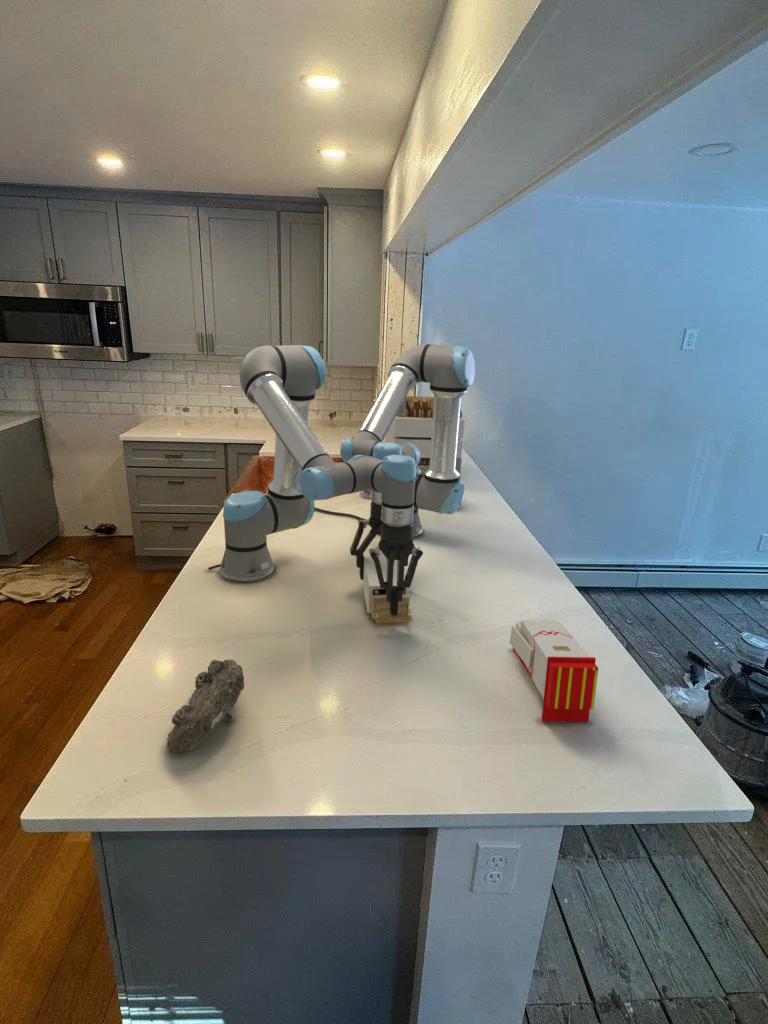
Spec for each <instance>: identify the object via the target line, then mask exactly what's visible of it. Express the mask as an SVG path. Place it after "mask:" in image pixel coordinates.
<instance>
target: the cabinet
mask: <svg viewBox="0 0 768 1024" xmlns="http://www.w3.org/2000/svg"><path fill="white" fill-rule="evenodd" d="M363 556H364V577H363V580H361V579H360V581H361V587H362V591H363V596H364V601H365V606H366V612H367V614H368V615H369V614H372V599H373V589H382V588H381V587H380V584H379V581H378V576H377V572H376V568H375V563H374V560H373V559H372V557H371V556H370V553H369V551H365V552H364V553H363ZM378 558H379V561H380V565H381V569H382V574H383V578H384V581H385V582H386V575H387V558H386V557H385V556H384V554H383V553H382V552H381V551H380V556H379V557H378ZM397 564H398V560H394V567H393V586H397ZM406 573H407V570H406V568H405V567H404V580H405V576H406ZM410 587H411V586H410ZM410 587H409V588H407V587H406V588H404V594H409V595H410Z"/></svg>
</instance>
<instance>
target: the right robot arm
mask: <svg viewBox="0 0 768 1024" xmlns="http://www.w3.org/2000/svg"><path fill="white" fill-rule="evenodd" d="M475 375H476V364H475V358H474V355H473V352H472V351H471V350H470V349H469V348H468V347H466V346H459V345H446V344H430V343H421V344H420V343H419V344H417V345H415V346H412V347H411V348H409V349H407V350H406V351H404V352H402V354H400V356H398V357H397V358H396V359H395V360H394V362H393V363H392V364H391V366H390V368H389V370H388V372H387V380H386V382H385V384H384V385H383V387H382V389H381V391H380V392H379V394H378V396H377V398H376V400H375V401H374V403H373V405H372V406H371V408H370V410H369V412H368V414H367V415H366V418H365V419H364V421H363V423H362V424H361V427H360V428H359V430H358V432H357V433H356V435H355V437H354V436H347V437H346V438H343V440H342V441H341V444H340V448H339V453H340V457H341V460H342V462H347V461H349V460H350V459H351V458H352V457H353V456H355V455H364V456H365V455H367V456H370V457H373V458H376V459H379V460H383V459H384V458H385V457H386V456H389V455H403V456H404V455H405V456H410V457H412V458H413V459H414V460H415V465H416V480H415V494H414V516H413V522H412V524H413V539H412V540H415V539H418V538H420V537H421V536H422V535H423V525H422V524H421V518H420V515H419V510H423V511H428V512H434V513H437V514H440V515H442V514H444V515H453V514H454V513H456V512H457V510H458V509H459V508H460V506H461V505H460V503H461V504H462V500H463V497H464V493H465V489H466V487H465V482H464V481H462V480H460V481H459V473H458V472H457V471H456V469H455V467H456V455H457V443H458V431H459V419H460V408H461V405H462V397H463V396H464V395H465V394H466V393H467V392H468V388H470V387H471V386H472V385H473V384H474V380H475ZM418 383H426V384H427V383H428V384H429V391H430V392H431V393H432V394H433V397H434V405H433V420H432V436H431V451H430V466H429V465H428V468H427V469H426V470H424V474H422V470H421V468H419V467H417V465H418V464H419V462H420V452H419V449H418V448H417V447H416V446H415V445H414V444H411V443H403V444H401V445H399V444H396V443H389V442H386V441H384V440H385V438H386V434H387V432H388V430H389V428H390V426H391V424H392V422H393V420H394V419H395V417H396V415H397V413H398V411H399V409H400V407H401V405H402V404H403V402H404V400H405V398H406V396H408V395H409V392H410V391H411V390H413V389H415V388H416V386H417V384H418ZM370 500H371V502H370V515H369V519H367V518H364V517H360V516H358V515H355V514H353V513H351V514H350V513H345V512H336V511H332V510H331V511H330V510H326V509H322V508H319V507H315V508H314V511H317V512H320V513H325V514H330V515H334V516H335V515H336V516H342V517H348V518H354V519H357V520H358V521H357V522H358V523H357V529H356V532H355V535H354V537H353V540H352V543H351V546H350V549H349V552H350V555H351V556H355V565H356V568H357V569H358V568H359V578H360V581H361V580H363V577H364V556H363V553H364V552H366V550H367V549H368V547H369V546H370V544H371V543H372V542H373V540H374V539H375V538H376V537H377V536H381V523H382V522H383V521H382V520H381V511H382V493H378V492H376V491H373V490H371V498H370ZM459 505H460V506H459ZM367 526H369V527H370V530H369V532H368V533H367V535H366V537H365V538H364V539H363V541H362V542H361V539H362V537H363V534H364V530H365V529H366V528H367ZM360 542H361V544H360ZM411 555H412V551H411V552H410V553H409V555H408V556H407V557H406V558H405V564H404V567H408V566H409V558H410V556H411Z"/></svg>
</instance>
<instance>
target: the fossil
mask: <svg viewBox="0 0 768 1024" xmlns="http://www.w3.org/2000/svg"><path fill="white" fill-rule="evenodd" d="M243 670H244V669H243V667H242V665H240V664H237V662H236V661H235V660H234V659H232V658H231V659H227V658H226V659H224V660H223V661H222V660H217V659H212V660H211V661H210V663H209V665H208V666H207V671H201V672H199V673H198V674H197V675H196V676H195V680H194V684H195V685H194V687H195V689H194V690H193V693H192V694H191V697H190V698H189V700H188V704H184V705H182V706H181V707H180V709H177V710H176V711H175V713H174V715H173V716H172V718H171V723H172V724H173V727H172V730H171V731H170V732H168V734H167V738H166V741H167V742H166V745H167V749H168V750H169V751H173V752H174V753H176V754H178V753H182V752H188V751H189V752H192V751H193V750H195V748H196V747H197V746H199V744H200V743H201V742H203V741H204V740H205V739H206V738H207V737H208V736H209V735H210V734H211V733H212V732H214V730H215V729H217V727H218V726H219V724H220V722H221V721H222V720H223V719H224V718H225V716H226V717H227V719H229V720H233V717H232V715H230V714H229V710H230V709H231V708H234V706H235V704H236V703H237V702H238V699H239V697H240V695H241V693H242V691H243V690H245V689H244V688H245V675H244V671H243Z"/></svg>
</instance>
